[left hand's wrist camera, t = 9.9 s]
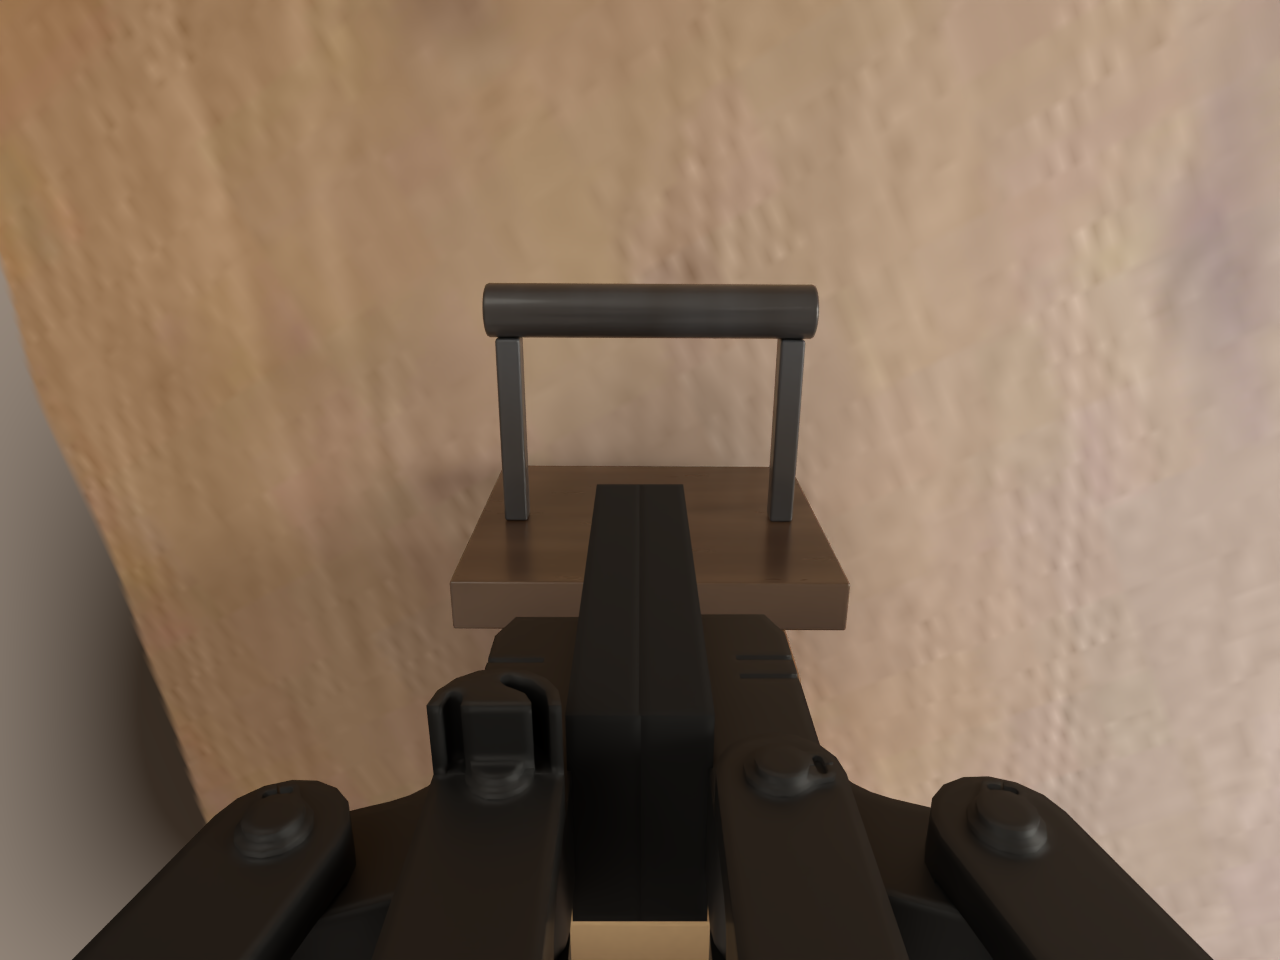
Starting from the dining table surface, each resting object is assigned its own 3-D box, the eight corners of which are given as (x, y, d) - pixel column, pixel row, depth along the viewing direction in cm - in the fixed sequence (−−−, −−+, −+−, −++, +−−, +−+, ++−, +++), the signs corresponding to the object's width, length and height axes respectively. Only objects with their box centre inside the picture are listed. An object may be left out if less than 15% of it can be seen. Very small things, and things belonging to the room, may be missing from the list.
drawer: (492, 264, 24) (426, 306, 16) (805, 266, 24) (879, 308, 16) (524, 863, 31) (489, 1076, 24) (762, 864, 31) (799, 1077, 24)
